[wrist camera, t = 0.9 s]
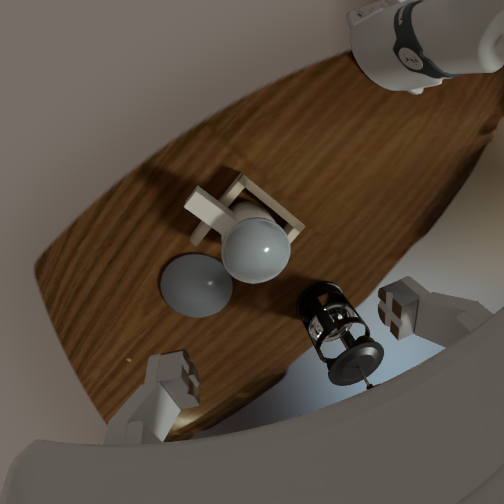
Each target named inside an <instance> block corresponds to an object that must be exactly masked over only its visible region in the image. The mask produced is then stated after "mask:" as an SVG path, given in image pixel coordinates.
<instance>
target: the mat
mask: <svg viewBox="0 0 504 504" xmlns="http://www.w3.org/2000/svg"><path fill="white" fill-rule="evenodd" d="M232 290H233V284H232V278H231V275H230V273H229V272H228V271H227V270H226V268H225V266H224V265H223V264H222V263H221V262H220V261H219V260H217V259H216V258H214V257H212V256H209V255H206V254H201V253H190V254H185V255H182V256H180V257H178V258H176V259H174V260H173V261H172V262H170V263H169V264H168V266H167V267H166V268H165V270H164V272H163V274H162V278H161V292H162V295H163V297H164V299H165V301H166V302H167V304H168V305H169V306H170V307H171V308H172V309H174V310H175V311H177V312H178V313H180V314H183V315H186V316H189V317H206V316H210V315H213V314H215V313H217V312H218V311H220V310H221V309H223V308H224V307H225V306H226V304H227V303H228V301H229V300H230V298H231V295H232Z"/></svg>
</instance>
